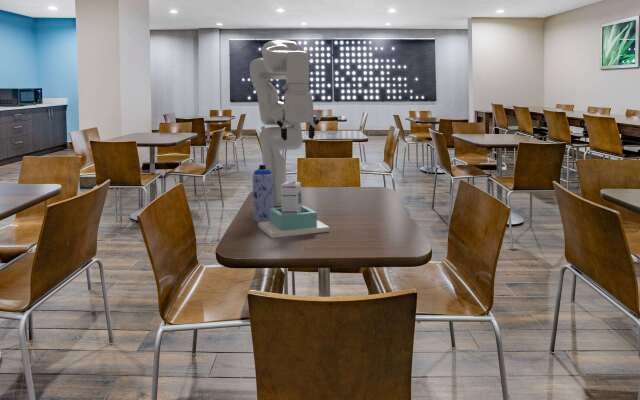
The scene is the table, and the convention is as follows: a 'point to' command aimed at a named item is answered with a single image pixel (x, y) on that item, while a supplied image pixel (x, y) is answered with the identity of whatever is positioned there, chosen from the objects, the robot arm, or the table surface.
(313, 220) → the socket board
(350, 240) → the table surface
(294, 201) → the syrup box
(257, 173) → the aerosol can
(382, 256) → the table surface
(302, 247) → the table surface
